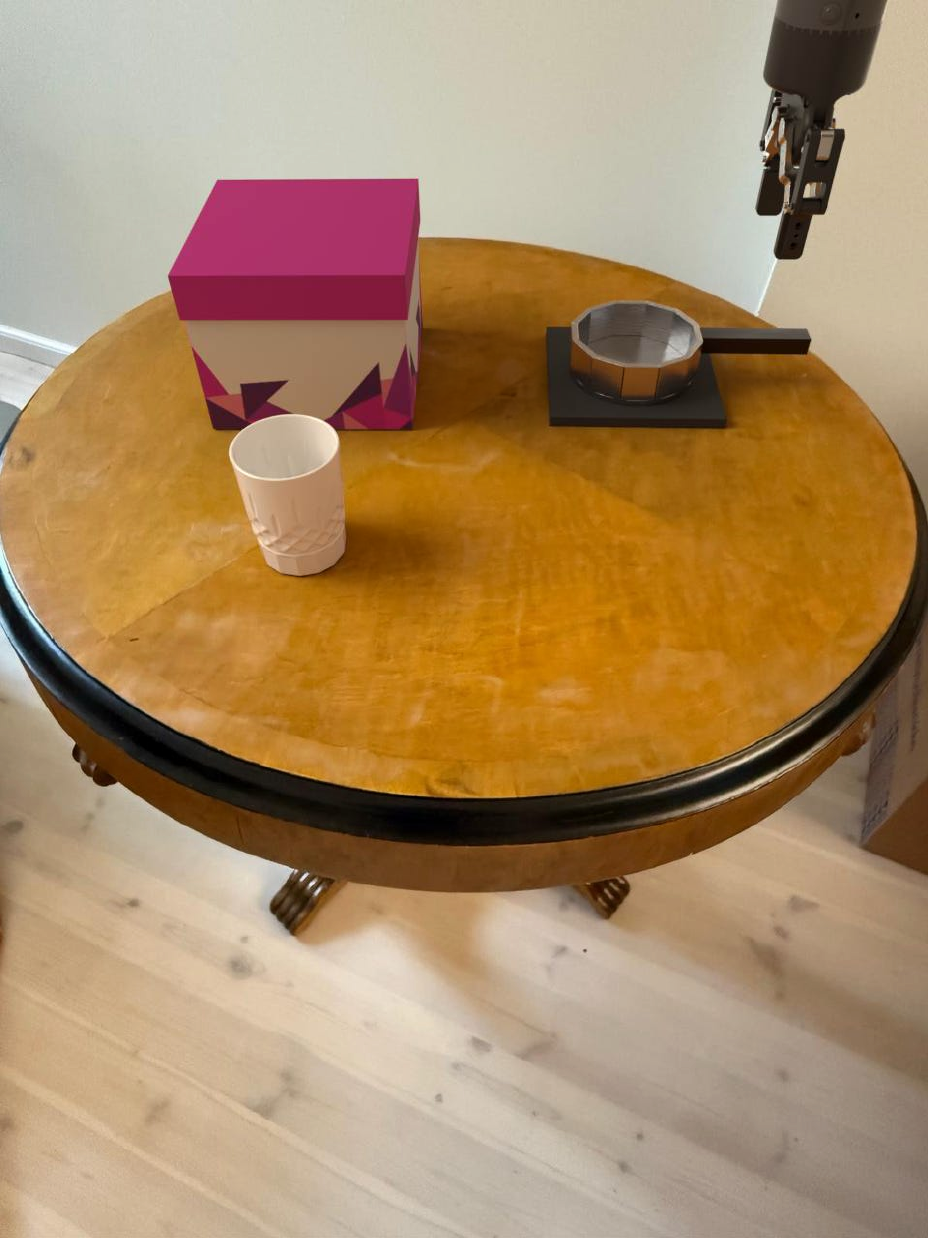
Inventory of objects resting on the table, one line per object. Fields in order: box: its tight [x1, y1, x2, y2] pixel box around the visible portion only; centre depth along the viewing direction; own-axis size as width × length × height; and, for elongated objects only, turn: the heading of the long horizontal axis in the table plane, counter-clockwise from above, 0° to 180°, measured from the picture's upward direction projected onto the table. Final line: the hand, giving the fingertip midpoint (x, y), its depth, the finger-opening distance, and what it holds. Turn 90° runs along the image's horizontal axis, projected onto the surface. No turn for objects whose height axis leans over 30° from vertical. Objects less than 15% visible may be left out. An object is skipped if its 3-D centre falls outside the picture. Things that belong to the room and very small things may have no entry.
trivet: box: [545, 326, 728, 429], centre depth 87 cm, size 16×16×1 cm
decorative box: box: [167, 178, 424, 430], centre depth 83 cm, size 19×19×15 cm
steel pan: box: [569, 299, 813, 406], centre depth 85 cm, size 22×12×4 cm, turn 88°
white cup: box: [228, 414, 347, 577], centre depth 68 cm, size 8×8×10 cm
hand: (776, 234), depth 76 cm, fingers open, 8 cm apart
